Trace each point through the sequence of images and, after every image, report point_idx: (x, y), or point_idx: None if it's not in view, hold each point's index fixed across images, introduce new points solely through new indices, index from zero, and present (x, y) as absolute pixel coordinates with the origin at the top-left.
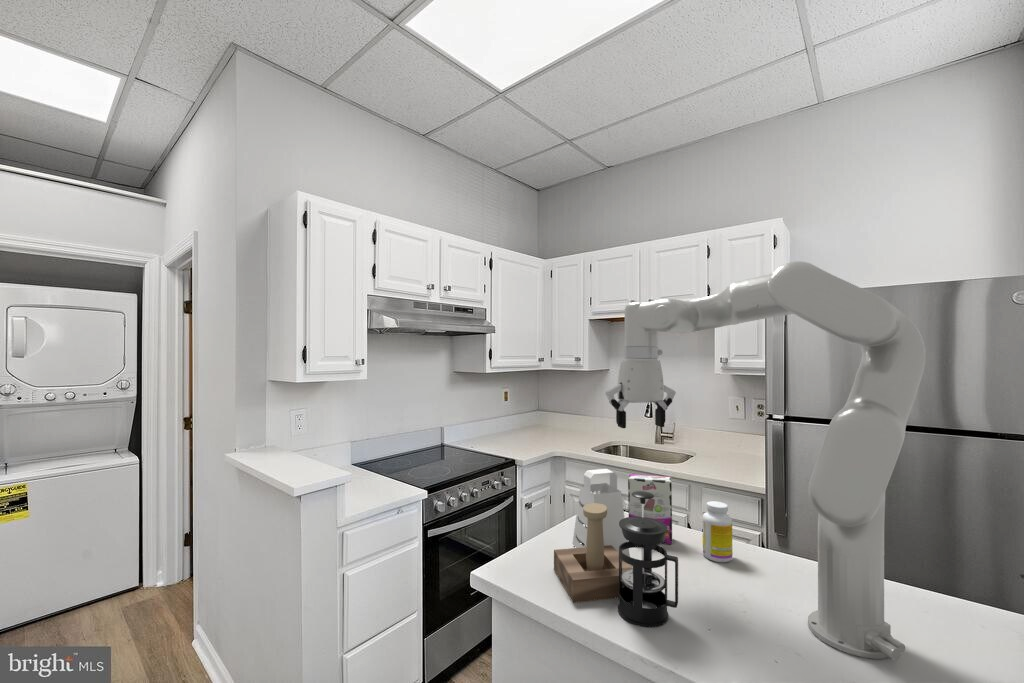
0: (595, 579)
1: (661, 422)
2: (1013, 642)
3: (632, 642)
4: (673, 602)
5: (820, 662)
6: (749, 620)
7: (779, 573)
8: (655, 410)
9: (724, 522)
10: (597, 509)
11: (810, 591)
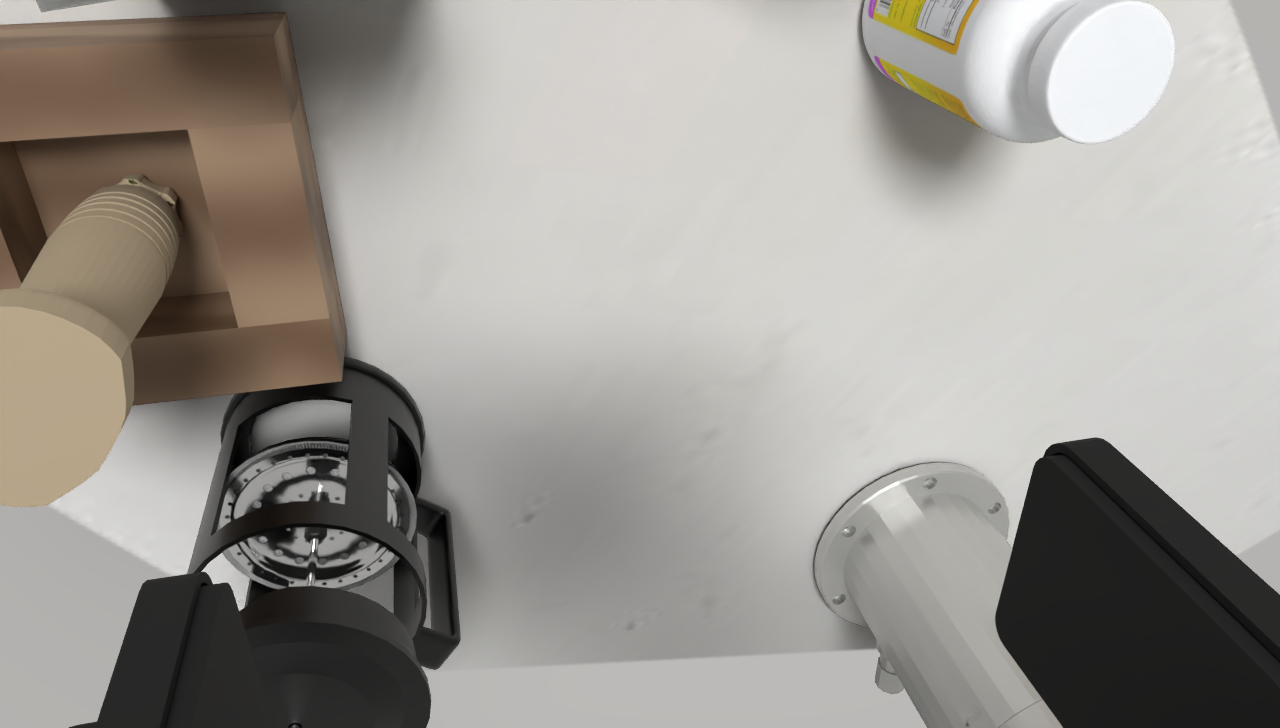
0: None
1: (1039, 686)
2: (1236, 553)
3: (236, 575)
4: (431, 517)
5: (737, 625)
6: (690, 478)
7: (1055, 198)
8: (1265, 695)
9: (1028, 142)
10: (36, 438)
11: (1033, 331)
